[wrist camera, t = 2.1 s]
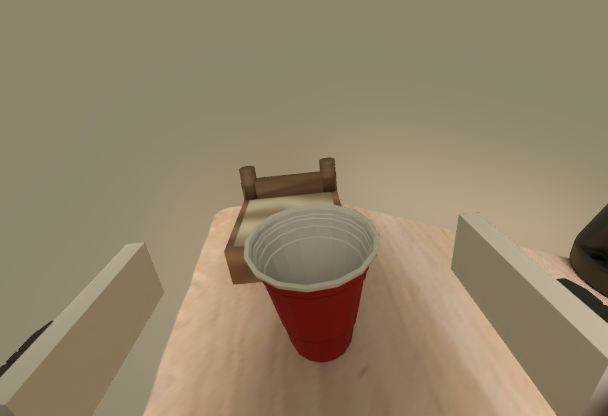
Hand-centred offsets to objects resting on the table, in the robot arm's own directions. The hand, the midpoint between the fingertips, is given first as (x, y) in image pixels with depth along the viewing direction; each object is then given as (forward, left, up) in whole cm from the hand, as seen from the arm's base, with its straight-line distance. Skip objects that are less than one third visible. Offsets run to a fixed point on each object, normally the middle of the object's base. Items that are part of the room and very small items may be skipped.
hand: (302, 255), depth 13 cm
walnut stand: (-13, -24, -17) cm, 32 cm away
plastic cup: (-6, -8, -17) cm, 20 cm away
